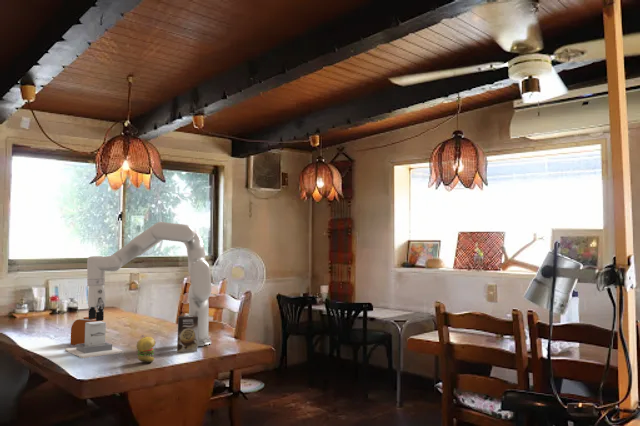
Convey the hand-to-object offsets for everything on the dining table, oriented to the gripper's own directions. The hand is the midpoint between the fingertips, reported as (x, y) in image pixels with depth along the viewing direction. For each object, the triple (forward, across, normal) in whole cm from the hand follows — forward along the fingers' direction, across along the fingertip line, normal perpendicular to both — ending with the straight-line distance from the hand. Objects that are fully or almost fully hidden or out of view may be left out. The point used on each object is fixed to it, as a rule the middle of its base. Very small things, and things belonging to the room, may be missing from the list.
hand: (95, 319), depth 240 cm
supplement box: (+14, 0, 0) cm, 14 cm away
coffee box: (+16, -29, -31) cm, 45 cm away
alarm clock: (+15, +21, -3) cm, 26 cm away
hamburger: (+15, -40, -6) cm, 43 cm away
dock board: (+15, 0, +1) cm, 15 cm away
